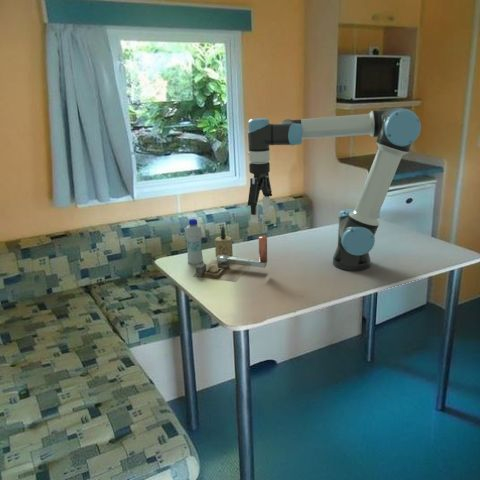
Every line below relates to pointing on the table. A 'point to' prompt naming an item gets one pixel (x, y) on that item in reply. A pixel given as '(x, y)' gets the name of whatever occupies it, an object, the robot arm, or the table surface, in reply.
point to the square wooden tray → (221, 271)
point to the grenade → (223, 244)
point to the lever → (246, 261)
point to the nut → (213, 268)
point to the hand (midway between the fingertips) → (260, 217)
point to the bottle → (194, 242)
